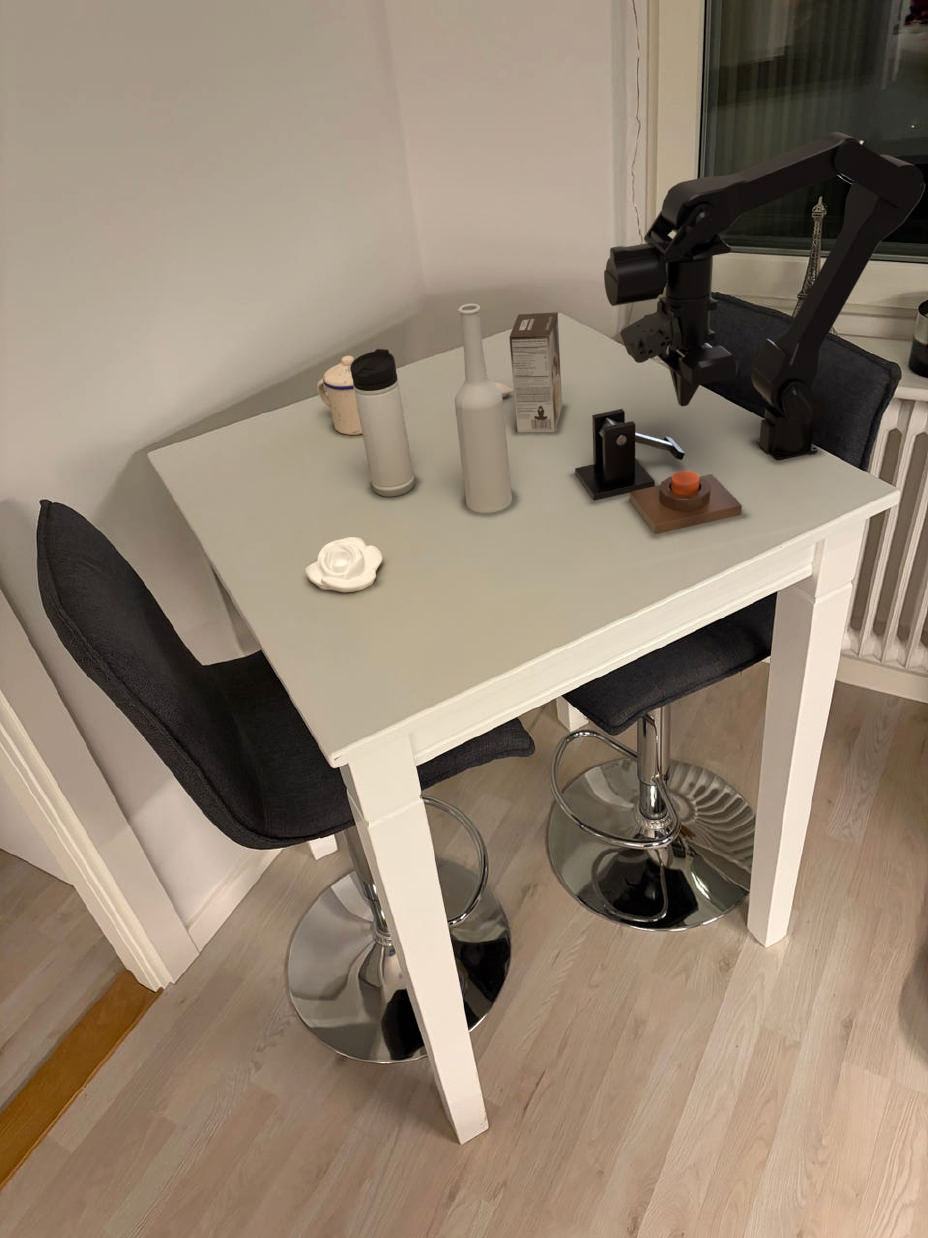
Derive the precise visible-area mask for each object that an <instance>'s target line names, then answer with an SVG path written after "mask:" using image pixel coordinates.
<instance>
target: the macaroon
mask: <svg viewBox="0 0 928 1238" xmlns="http://www.w3.org/2000/svg"><path fill="white" fill-rule="evenodd" d="M492 383H493V384H494V385H495V386H496V387H497V388H498V389H499V390H500V392H501V393H502V398H503V399H504V398H505V397H506V396H508V395H509V394H511V393H513V392H514V389H512V388H511V387H509V386H507V385H505V384H504V383H500V382H496V381H495V382H494V381H493V382H492Z"/></svg>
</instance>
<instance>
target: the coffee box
mask: <svg viewBox="0 0 928 1238" xmlns="http://www.w3.org/2000/svg"><path fill="white" fill-rule="evenodd" d="M508 339H509V349H510V360H511V361H510V362H511V374H512V375H511V376H512V385H513V398H514V410H515V422H516V423H515V424H516V432H517V433H549V432H550V433H551V432H556V430H557V427H558V424H559V420H560V417H561V414H562V413H561V412H562V409H563V395H562V374H561V358H560V357H561V355H560V333H559V312H557V311H555V312H537V313H535V312H534V313H519V314H517V317H516V320H515V322H514V325H513V327H512V329H511V332H510V334H509V338H508Z"/></svg>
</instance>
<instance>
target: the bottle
mask: <svg viewBox="0 0 928 1238" xmlns="http://www.w3.org/2000/svg"><path fill="white" fill-rule="evenodd" d="M480 310H481V305H479V304H478V303H465V304H463V305H460V306H459V307H458V310H457V311H458V313H459V316H460V325H461V326H460V327H461V337H462V345H463V346H462V347H463V358H464V359H463V360H464V382H463V384H462V386H461V387H460V388H459V390H458V391H457V393H456V394H455V396H454V407H455V409H454V410H455V416H456V417H455V418H456V425H457V435H458V445H459V453H460V463H461V471H462V478H463V488H464V489H463V490H464V497H465V504H466V507H467V508H468V509H470V510H471V511H474V512H477V513H483V514H484V513H485V514H487V513H496V512H499V511H501V510H504V509H506V508H507V507H508V506H510V505H511V503H512V501H513V493H512V480H511V472H510V461H509V452H508V451H509V450H508V449H509V448H508V440H507V430H506V420H505V419H506V418H505V409H504V397H503V398H502V393H501V392H500V390H499V389H498V388H497V387H496V386H495V385H494V384H493V382H492V381H491V380H490V379H489V377H488V372H487V365H486V359H485V353H484V346H483V338H482V329H481V328H482V327H481V317H480Z"/></svg>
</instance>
